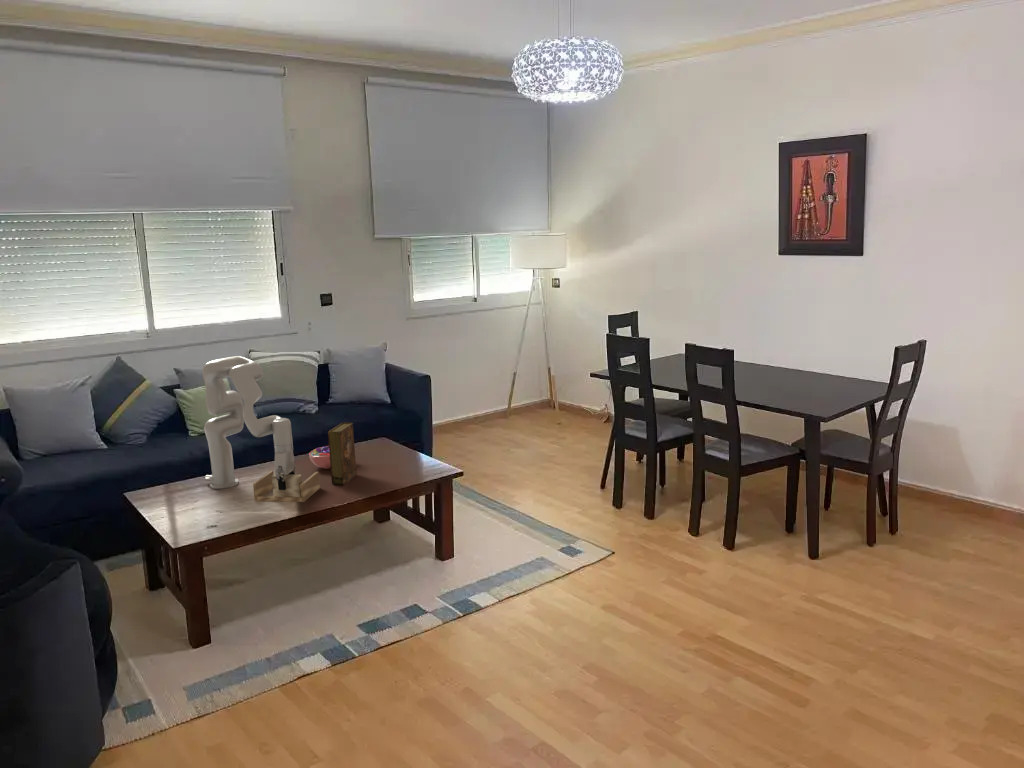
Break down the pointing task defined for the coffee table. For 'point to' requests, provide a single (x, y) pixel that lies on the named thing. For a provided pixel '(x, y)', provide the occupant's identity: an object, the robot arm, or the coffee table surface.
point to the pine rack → (265, 486)
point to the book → (342, 453)
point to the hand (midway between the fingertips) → (287, 485)
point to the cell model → (321, 457)
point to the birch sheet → (288, 486)
